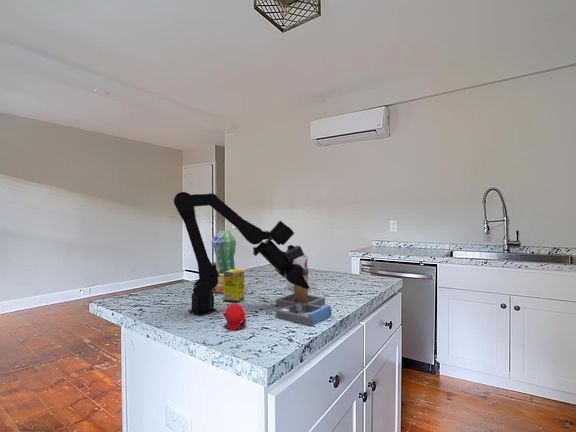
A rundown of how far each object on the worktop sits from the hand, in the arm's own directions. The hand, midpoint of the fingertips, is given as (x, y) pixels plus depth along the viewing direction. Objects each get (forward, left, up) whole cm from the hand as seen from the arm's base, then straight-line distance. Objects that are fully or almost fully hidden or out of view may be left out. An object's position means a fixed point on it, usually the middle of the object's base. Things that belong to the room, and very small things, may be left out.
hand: (304, 285), depth 111 cm
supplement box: (-11, +24, -7) cm, 27 cm away
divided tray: (-6, -3, -7) cm, 10 cm away
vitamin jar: (-1, +1, -7) cm, 7 cm away
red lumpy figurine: (-30, +4, -7) cm, 31 cm away
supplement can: (+19, +16, -7) cm, 26 cm away
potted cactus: (-2, +38, -7) cm, 39 cm away
